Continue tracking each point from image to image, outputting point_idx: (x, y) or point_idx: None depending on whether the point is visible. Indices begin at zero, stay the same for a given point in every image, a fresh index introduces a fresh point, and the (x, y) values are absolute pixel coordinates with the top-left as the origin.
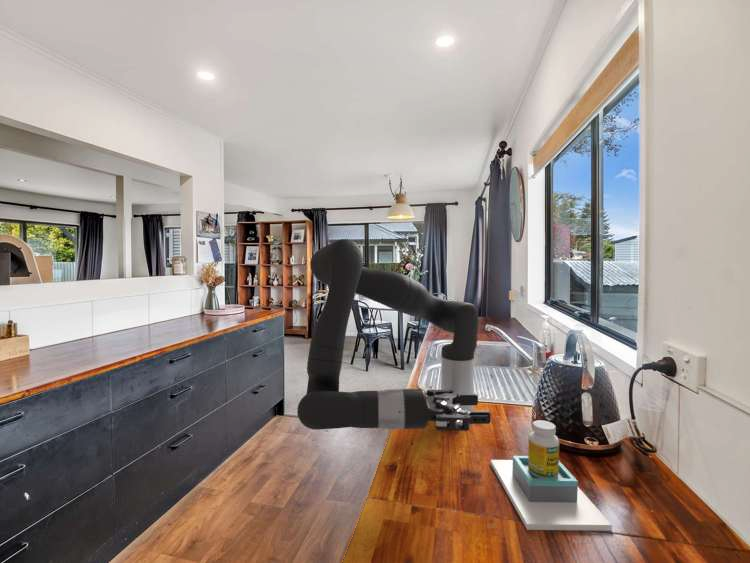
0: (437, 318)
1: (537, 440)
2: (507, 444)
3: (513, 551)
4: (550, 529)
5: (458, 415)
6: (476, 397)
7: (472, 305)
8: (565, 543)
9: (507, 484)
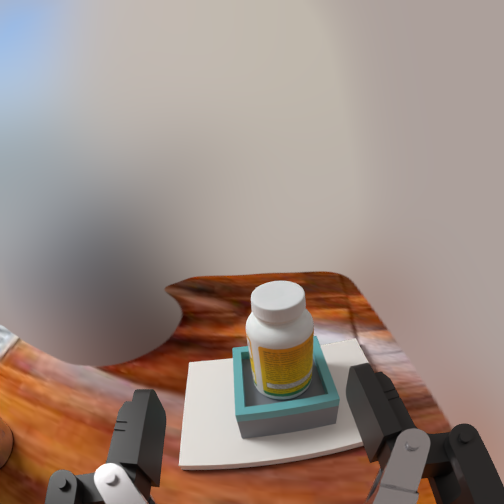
0: None
1: (303, 331)
2: (110, 413)
3: None
4: None
5: (469, 469)
6: (154, 398)
7: None
8: (405, 391)
9: (282, 453)
